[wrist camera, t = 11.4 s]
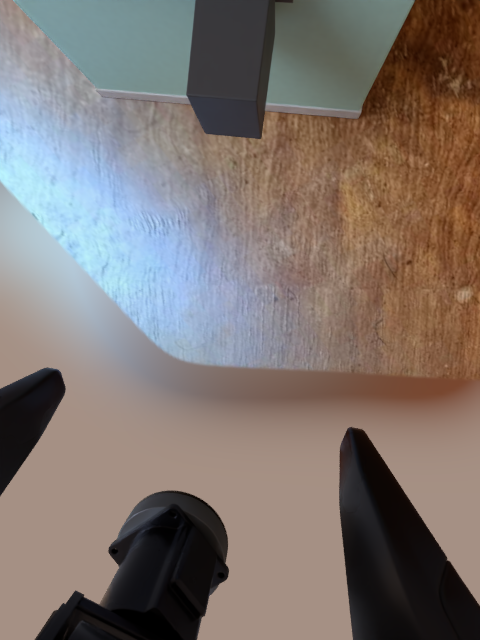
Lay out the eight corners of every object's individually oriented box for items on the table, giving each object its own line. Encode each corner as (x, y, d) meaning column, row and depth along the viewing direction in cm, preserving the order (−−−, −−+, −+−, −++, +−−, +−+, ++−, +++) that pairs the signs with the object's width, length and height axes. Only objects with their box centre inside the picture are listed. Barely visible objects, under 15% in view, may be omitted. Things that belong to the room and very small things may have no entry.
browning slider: (261, 139, 13) (257, 101, 10) (205, 134, 14) (185, 95, 11) (275, 32, 13) (275, -40, 10) (216, 28, 13) (199, -44, 10)
